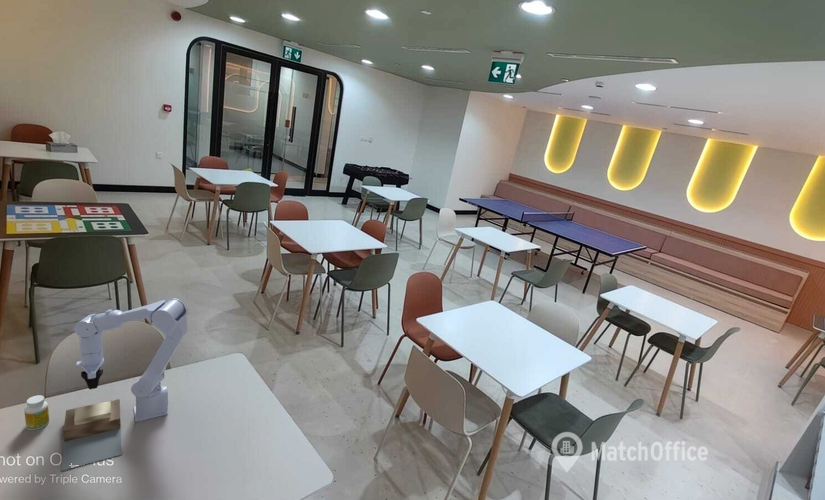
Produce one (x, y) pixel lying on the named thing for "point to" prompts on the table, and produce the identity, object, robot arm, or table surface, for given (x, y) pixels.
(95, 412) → the birch tile
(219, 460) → the table surface
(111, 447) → the slate mat
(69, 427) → the walnut deck
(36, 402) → the supplement bottle
